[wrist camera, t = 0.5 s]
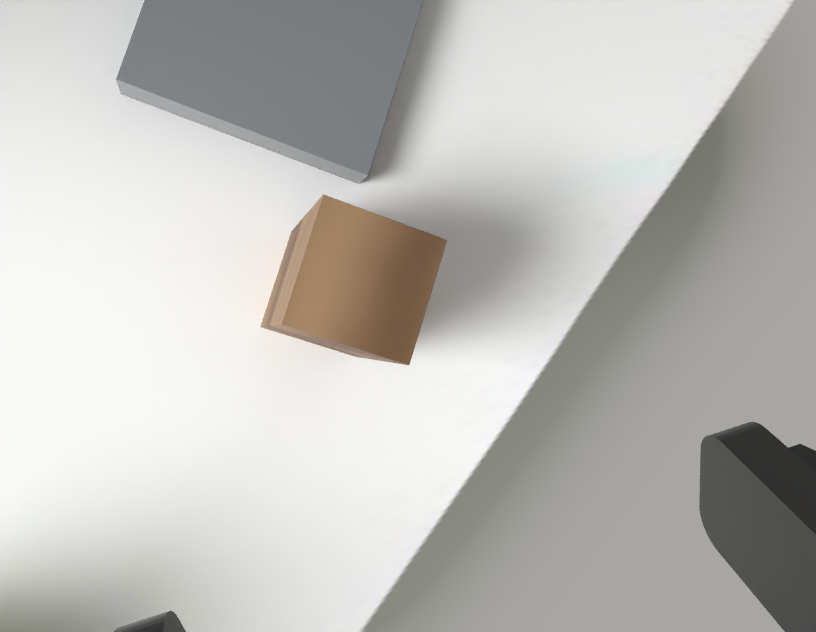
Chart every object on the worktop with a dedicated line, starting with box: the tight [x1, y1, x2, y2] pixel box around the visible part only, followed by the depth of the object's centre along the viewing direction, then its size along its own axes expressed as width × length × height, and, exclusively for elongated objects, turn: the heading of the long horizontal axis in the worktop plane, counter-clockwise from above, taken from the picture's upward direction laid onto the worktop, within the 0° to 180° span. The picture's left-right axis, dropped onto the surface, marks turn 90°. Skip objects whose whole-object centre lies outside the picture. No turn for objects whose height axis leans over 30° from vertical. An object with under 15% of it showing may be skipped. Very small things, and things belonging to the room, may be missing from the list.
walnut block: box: [261, 195, 447, 365], centre depth 31 cm, size 5×5×10 cm
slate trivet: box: [116, 0, 423, 184], centre depth 35 cm, size 12×12×2 cm
